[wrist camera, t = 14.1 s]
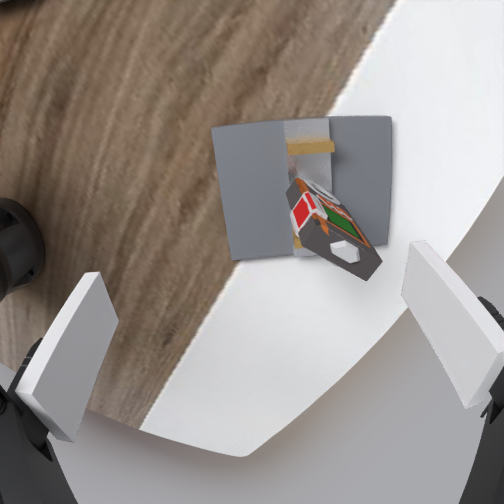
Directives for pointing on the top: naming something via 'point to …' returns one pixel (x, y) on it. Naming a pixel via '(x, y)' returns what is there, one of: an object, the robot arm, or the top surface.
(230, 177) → the panel
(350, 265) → the electronic device
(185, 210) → the top surface
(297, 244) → the rail
